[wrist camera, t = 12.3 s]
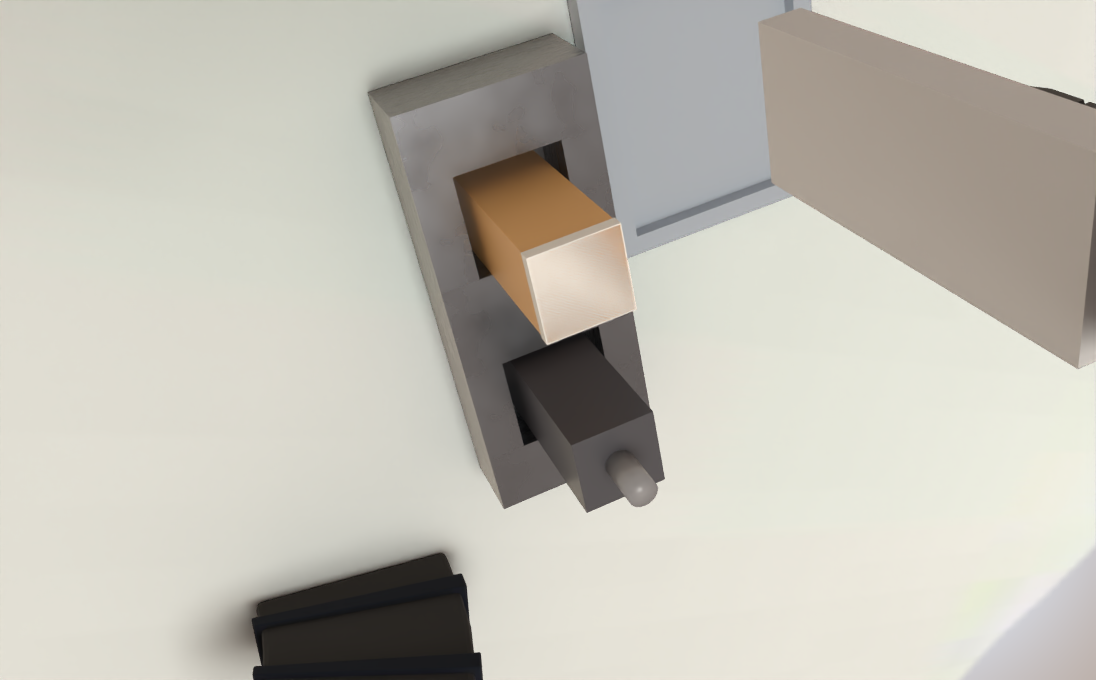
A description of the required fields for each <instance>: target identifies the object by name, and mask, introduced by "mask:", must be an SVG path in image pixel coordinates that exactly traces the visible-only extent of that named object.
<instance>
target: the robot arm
mask: <svg viewBox="0 0 1096 680" xmlns="http://www.w3.org/2000/svg"><path fill="white" fill-rule="evenodd" d="M758 28H759V40H760V52H761V64H762V76H763V87H764V99H765V111H766V123H767V134H768V146H769V158H770V170H771V182H772V183H773V184H774V185H776V186H778V187H779V188H781V189H783V190H784V191H786V192H788V193H789V194H791V195H793V196H794V197H796V198H797V199H799V200H801V201H802V202H804V203H806V204H807V205H809V206H811V207H812V208H814V209H816V210H817V211H819V212H820V213H822V214H824V215H825V216H827V217H829V218H830V219H832V220H834V221H835V222H837V223H839V224H840V225H842V226H843V227H845V228H847V229H848V230H850V231H852V232H853V233H855V234H857V235H858V236H860V237H862V238H863V239H865V240H867V241H868V242H870V243H871V244H873V245H875V246H876V247H878V248H880V249H881V250H883V251H885V252H886V253H888V254H890V255H891V256H893V257H894V258H896V259H898V260H899V261H901V262H903V263H904V264H906V265H908V266H909V267H911V268H913V269H914V270H916V271H917V272H919V273H921V274H922V275H924V276H926V277H927V278H929V279H931V280H932V281H934V282H936V283H937V284H939V285H940V286H942V287H944V288H945V289H947V290H949V291H950V292H952V293H954V294H955V295H957V296H959V297H960V298H962V299H964V300H965V301H967V302H968V303H970V304H972V305H973V306H975V307H977V308H978V309H980V310H982V311H983V312H985V313H987V314H988V315H990V316H991V317H993V318H995V319H996V320H998V321H1000V322H1001V323H1003V324H1005V325H1006V326H1008V327H1010V328H1011V329H1013V330H1014V331H1016V332H1018V333H1019V334H1021V335H1023V336H1024V337H1026V338H1028V339H1029V340H1031V341H1033V342H1034V343H1036V344H1037V345H1039V346H1041V347H1042V348H1044V349H1046V350H1047V351H1049V352H1051V353H1052V354H1054V355H1056V356H1057V357H1059V358H1061V359H1062V360H1064V361H1065V362H1067V363H1069V364H1070V365H1072V366H1074V367H1075V368H1077V369H1080V368H1082V367H1084V366H1086V365H1089V364H1091V363H1093V362H1095V361H1096V104H1095V103H1092V102H1089V103H1086V104H1085V103H1084V100H1083V99H1080V98H1077V97H1074V96H1071V95H1068V94H1065V93H1062V92H1059V91H1056V90H1053V89H1048V88H1040V87H1032V86H1028V85H1025V84H1022V83H1019V82H1016V81H1013V80H1010V79H1007V78H1004V77H1001V76H998V75H996V74H993V73H990V72H987V71H984V70H981V69H978V68H975V67H972V66H969V65H966V64H963V63H961V62H958V61H955V60H952V59H949V58H946V57H943V56H940V55H937V54H934V53H931V52H928V51H925V50H923V49H920V48H917V47H914V46H911V45H908V44H905V43H902V42H899V41H896V40H893V39H890V38H888V37H885V36H882V35H879V34H876V33H873V32H870V31H867V30H864V29H861V28H858V27H855V26H853V25H850V24H847V23H844V22H841V21H838V20H835V19H832V18H829V17H826V16H823V15H820V14H817V13H815V12H812V11H809V10H806V9H803V8H798V9H795V10H792V11H789V12H786V13H783V14H780V15H777V16H774V17H771V18H768V19H765V20H762V21H759V22H758Z"/></svg>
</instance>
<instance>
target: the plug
mask: <svg viewBox="0 0 1096 680" xmlns="http://www.w3.org/2000/svg"><path fill="white" fill-rule="evenodd" d="M453 181H454V185H455V189H456V193H457V196H458V200H459V204H460V207H461V211H462V215H463V218H464V222H465V225H466V229H467V233H468V236H469V240H470V244H471V247H472V250H473V252H474V253H475V254H476V255H477V257H478V258H479V259H480V260H481V262H482V263H483V264H484V265H485V266H486V268H487V269H488V270H489V271H490V273H491V274H492V275H493V276H494V278H495V279H496V280H497V281H498V283H499V284H500V285H501V286H502V287H503V289H504V290H505V291H506V292H507V294H508V295H509V296H510V297H511V299H512V300H513V301H514V302H515V304H516V305H517V306H518V307H519V308H520V310H521V311H522V312H523V313H524V315H525V316H526V317H527V318H528V320H529V321H530V322H531V323H532V325H533V326H534V327H535V328H536V330H537V331H538V332H539V333H540V334H541V337H542V339H543V341H544V342H545V343H546V344H547V345H549V344H551V343H554V342H556V341H559V340H561V339H564V338H566V337H569V336H571V335H574V334H577V333H579V332H582V331H584V330H587V329H589V328H592V327H594V326H597V325H599V324H602V323H604V322H607V321H609V320H612V319H614V318H617V317H619V316H622V315H624V314H627V313H629V312H632V311H634V310H637V308H636V302H635V297H634V291H633V286H632V280H631V275H630V269H629V264H628V258H627V253H626V247H625V242H624V237H623V231H622V226H621V222H619V221H618V220H617V219H616V218H612V217H611V216H610V215H608V214H607V213H606V212H605V211H604V210H603V209H601V208H600V207H599V206H598V205H597V204H596V203H594V202H593V201H592V200H591V199H590V198H589V197H587V196H586V195H585V194H584V193H583V192H581V191H580V190H579V189H578V188H577V187H576V186H574V185H573V184H572V183H571V182H570V181H569V180H567V179H566V178H565V177H564V176H563V175H562V174H560V173H559V172H558V171H557V170H556V169H555V168H553V167H552V166H551V165H550V164H549V163H548V162H546V161H545V160H544V159H543V158H542V157H541V156H539V155H538V154H537V153H536V152H535V151H533V150H531V151H528V152H525V153H522V154H519V155H516V156H513V157H510V158H508V159H505V160H502V161H499V162H496V163H493V164H490V165H487V166H484V167H481V168H479V169H476V170H473V171H470V172H467V173H464V174H461V175H458V176H455V177H453Z"/></svg>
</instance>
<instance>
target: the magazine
mask: <svg viewBox="0 0 1096 680" xmlns="http://www.w3.org/2000/svg"><path fill="white" fill-rule="evenodd" d="M257 615H258V617H256V618H252V624H253V629H254V634H255V638H256V643H257V647H258V652H259V656H260V661H261V665H262V666H255V667H254V669H253V679H254V680H483V675H482V662H481V653H480V652H478V653H474V650H473V641H472V632H471V626H470V622H469V609H468V597H467V586H466V583H465V581H464V578H463V576H462V574H456V575H453V573H452V570H451V568H450V565H449V563H448V560H447V558H446V556H445V555H444V554H437V555H434V556H430V557H426V558H423V559H419V560H415V561H412V562H408V563H404V564H401V565H397V566H393V567H390V568H386V569H382V570H379V571H375V572H371V573H368V574H364V575H360V576H357V577H353V578H349V579H346V580H342V581H338V582H335V583H331V584H327V585H324V586H320V587H316V588H313V589H309V590H305V591H302V592H298V593H294V594H291V595H287V596H283V597H280V598H276V599H272V600H269V601H265V602H261V603H260V604H258V607H257Z"/></svg>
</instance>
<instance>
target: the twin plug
mask: <svg viewBox="0 0 1096 680" xmlns="http://www.w3.org/2000/svg"><path fill="white" fill-rule="evenodd" d="M502 365H503V369H504V373H505V376H506V380H507V384H508V388H509V391H510V395H511V399H512V403H513V405H514V406H515V408H516V409H517V411H518V412H519V413H520V415H521V416H522V418H523V419H524V421H525V422H526V424H527V425H528V427H529V428H530V430H531V431H532V433H533V434H534V436H535V437H536V439H537V440H538V441H539V443H540V444H541V446H542V447H543V449H544V450H545V452H546V453H547V455H548V456H549V458H550V459H551V461H552V462H553V464H554V465H555V467H556V468H557V469H558V471H559V472H560V474H561V475H562V477H563V478H564V480H565V481H566V483H567V484H568V486H569V487H570V489H571V490H572V492H573V493H574V494H575V496H576V497H577V499H578V500H579V502H580V503H581V505H582V506H583V508H584V509H585V511H586V512H587V513H588V512H590V511H592V510H595V509H597V508H599V507H601V506H604V505H606V504H608V503H611V502H613V501H615V500H618V499H620V498H622V497H626V498H627V500H628V501H629V502H630V504H631V505H633V506H635V507H642V506H645V505H647V504H649V503H650V502H651V501H652V500H653V499H654V498H655V496H656V494H657V491H658V488H657V484H656V483H657V482H659V481H662V480H664V479H665V477H664V472H663V466H662V460H661V455H660V449H659V443H658V438H657V432H656V426H655V421H654V415H653V411H652V410H651V409H650V408H649V407H648V406H647V404H646V403H645V402H644V401H643V400H642V399H641V398H640V396H639V395H638V394H637V393H636V392H635V391H634V390H633V389H632V387H631V386H630V385H629V384H628V383H627V382H626V381H625V380H624V378H623V377H622V376H621V375H620V374H619V373H618V372H617V371H616V369H615V368H614V367H613V366H612V365H611V364H610V363H609V361H608V360H607V359H606V358H605V357H604V356H603V355H602V354H601V352H600V351H599V350H598V349H597V348H596V347H595V346H594V345H593V343H592V342H591V341H590V340H589V339H588V338H587V337H586V335H585V334H584V333H583V332H582V333H580V334H577V335H575V336H572V337H570V338H567V339H564V340H562V341H559V342H557V343H554V344H552V345H549V346H547V347H544V348H541V349H539V350H536V351H534V352H531V353H529V354H526V355H523V356H521V357H518V358H516V359H513V360H511V361H508V362H506V363H503V364H502Z"/></svg>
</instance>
